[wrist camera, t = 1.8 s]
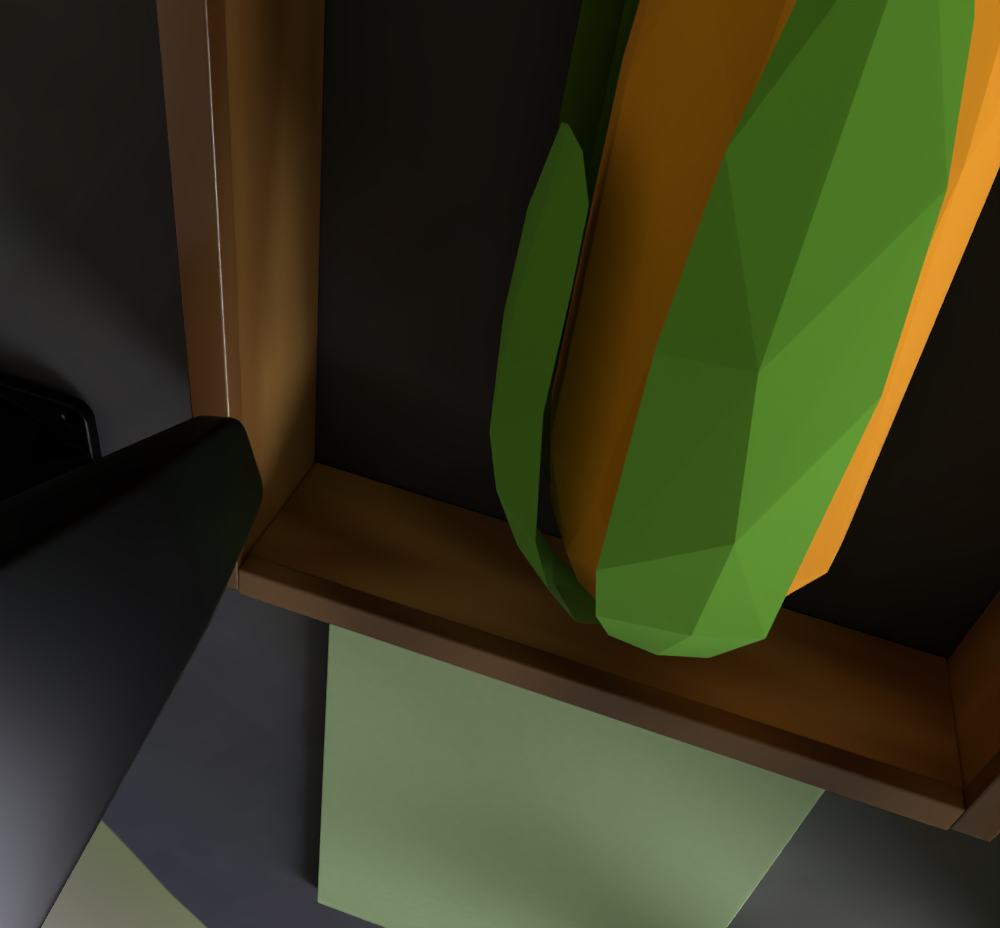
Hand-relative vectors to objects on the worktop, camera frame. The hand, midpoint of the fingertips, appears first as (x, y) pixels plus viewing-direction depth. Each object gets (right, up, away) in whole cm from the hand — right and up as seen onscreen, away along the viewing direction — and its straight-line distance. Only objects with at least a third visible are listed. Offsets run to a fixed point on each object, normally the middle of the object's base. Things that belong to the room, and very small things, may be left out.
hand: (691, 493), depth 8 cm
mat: (-1, -13, +25) cm, 28 cm away
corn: (+3, +7, +9) cm, 12 cm away
